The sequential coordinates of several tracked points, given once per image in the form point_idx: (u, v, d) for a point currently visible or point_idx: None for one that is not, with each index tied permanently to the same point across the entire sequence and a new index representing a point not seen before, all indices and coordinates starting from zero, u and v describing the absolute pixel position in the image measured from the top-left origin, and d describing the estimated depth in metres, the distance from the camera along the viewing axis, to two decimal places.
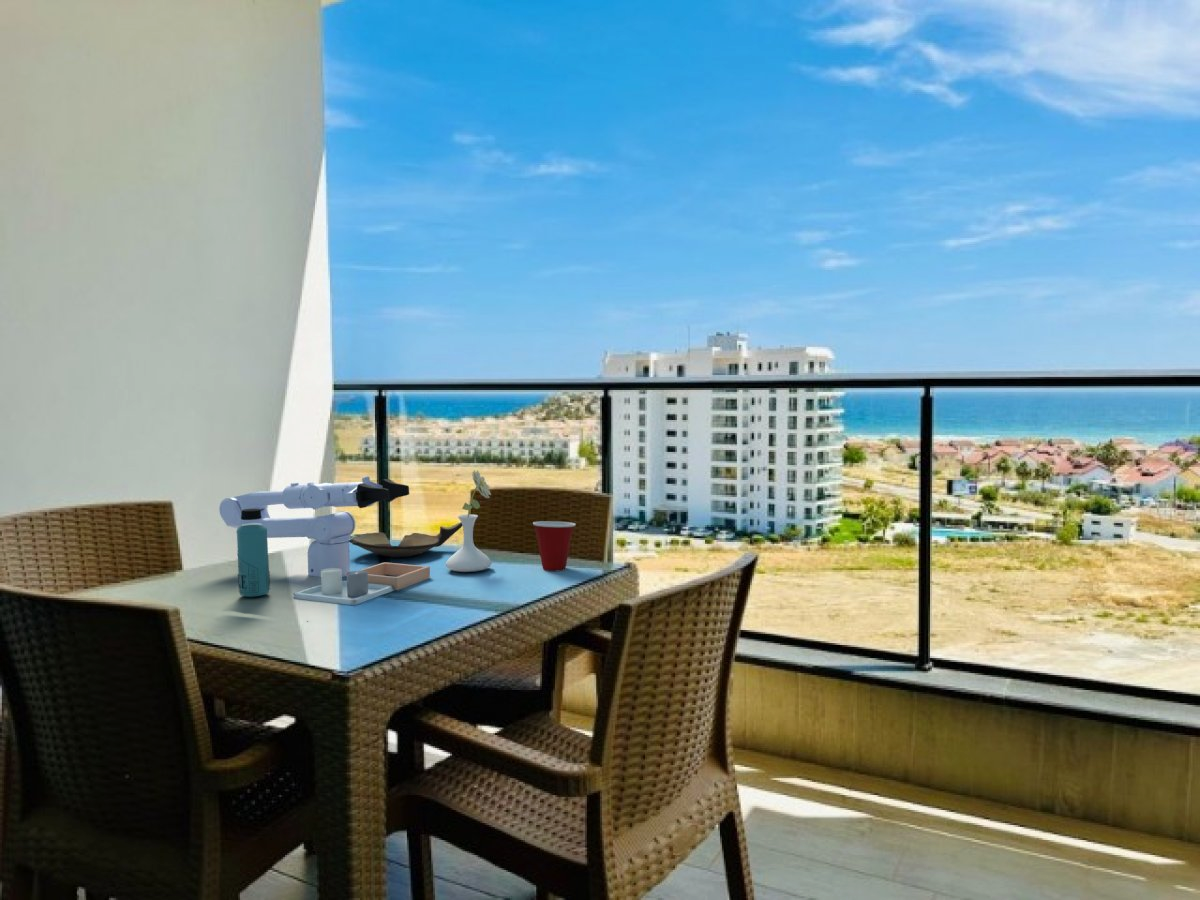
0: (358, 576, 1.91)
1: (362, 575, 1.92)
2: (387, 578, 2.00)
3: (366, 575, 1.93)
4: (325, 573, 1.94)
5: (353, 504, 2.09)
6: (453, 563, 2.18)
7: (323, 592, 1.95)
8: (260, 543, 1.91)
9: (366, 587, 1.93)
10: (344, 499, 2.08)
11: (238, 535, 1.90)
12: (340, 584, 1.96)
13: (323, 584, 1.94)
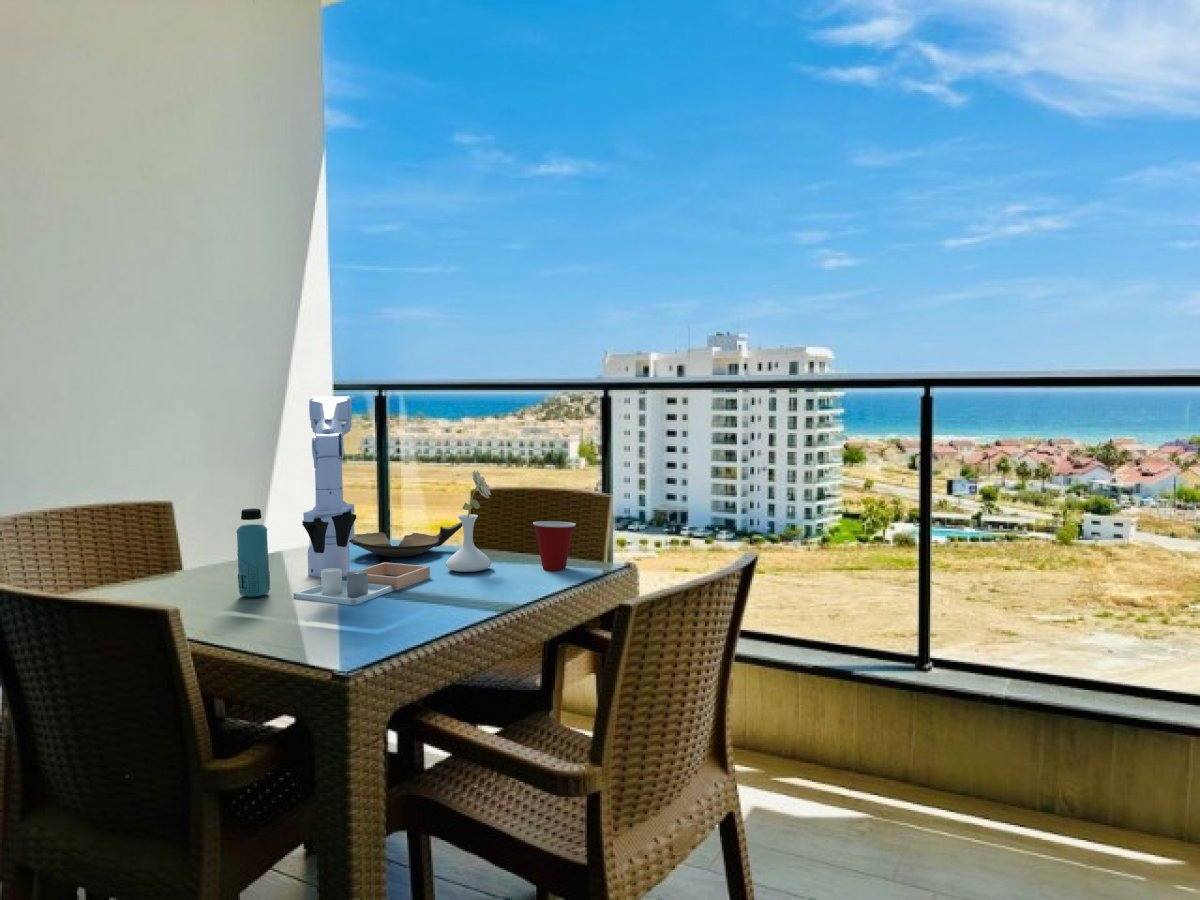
0: (358, 576, 1.91)
1: (362, 575, 1.92)
2: (387, 578, 2.00)
3: (366, 575, 1.93)
4: (325, 573, 1.94)
5: None
6: (453, 563, 2.18)
7: (323, 592, 1.95)
8: (260, 543, 1.91)
9: (366, 587, 1.93)
10: (317, 490, 1.92)
11: (238, 535, 1.90)
12: (340, 584, 1.96)
13: (323, 584, 1.94)
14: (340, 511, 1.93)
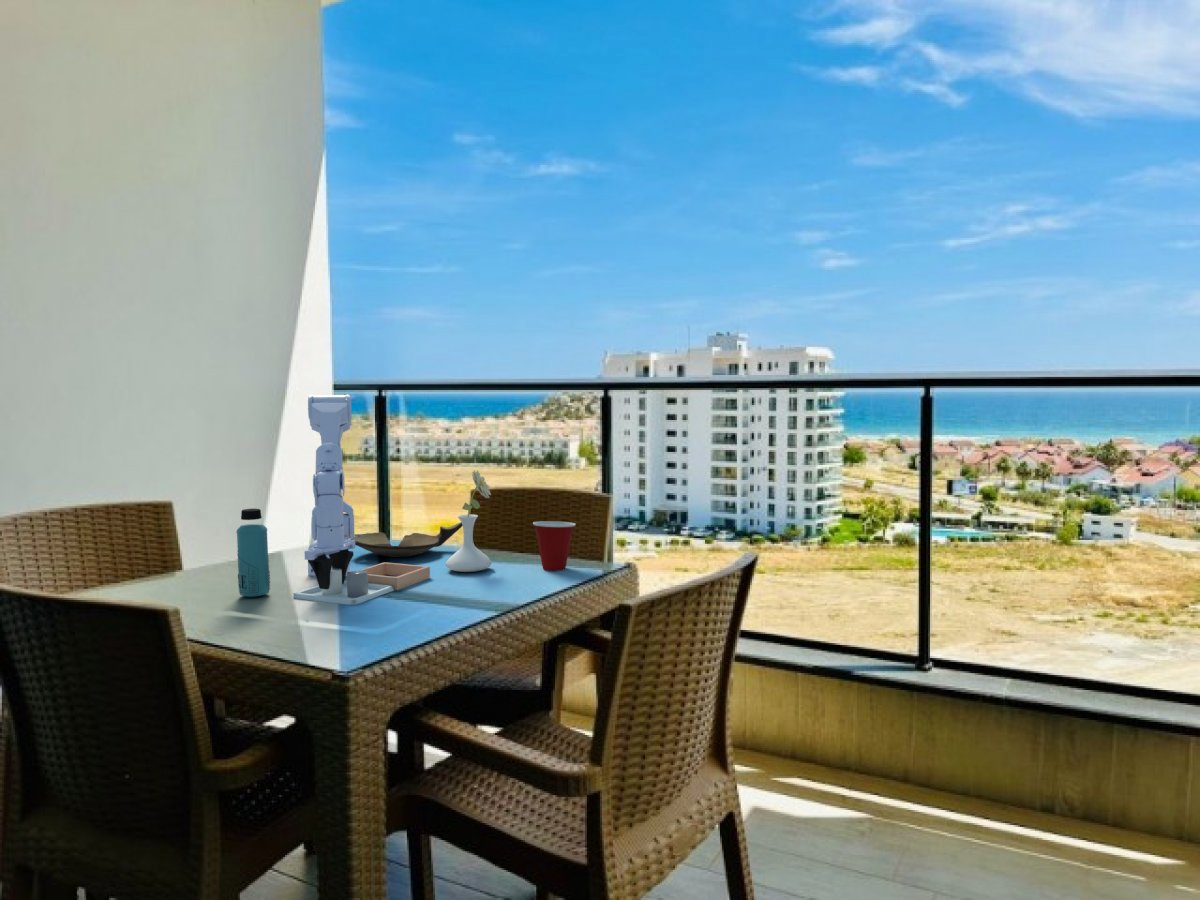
0: (358, 576, 1.91)
1: (362, 575, 1.92)
2: (387, 578, 2.00)
3: (366, 575, 1.93)
4: None
5: None
6: (453, 563, 2.18)
7: (323, 592, 1.95)
8: (260, 543, 1.91)
9: (366, 587, 1.93)
10: (318, 527, 1.93)
11: (238, 535, 1.90)
12: (340, 584, 1.96)
13: None
14: (341, 548, 1.93)
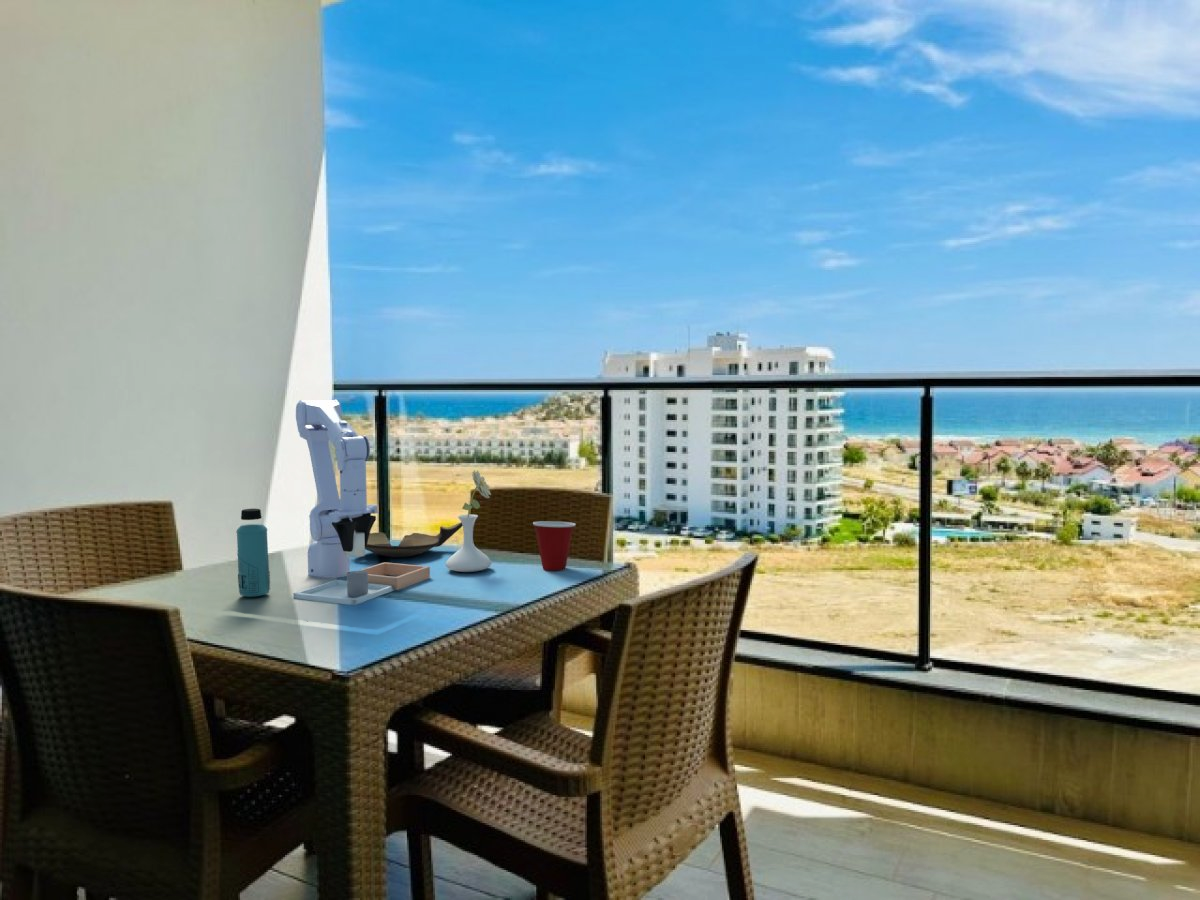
0: (358, 576, 1.91)
1: (362, 575, 1.92)
2: (387, 578, 2.00)
3: (366, 575, 1.93)
4: None
5: (340, 498, 2.00)
6: (453, 563, 2.18)
7: (346, 554, 2.00)
8: (260, 543, 1.91)
9: (366, 587, 1.93)
10: (342, 491, 1.98)
11: (238, 535, 1.90)
12: (363, 547, 2.01)
13: None
14: (364, 512, 1.99)
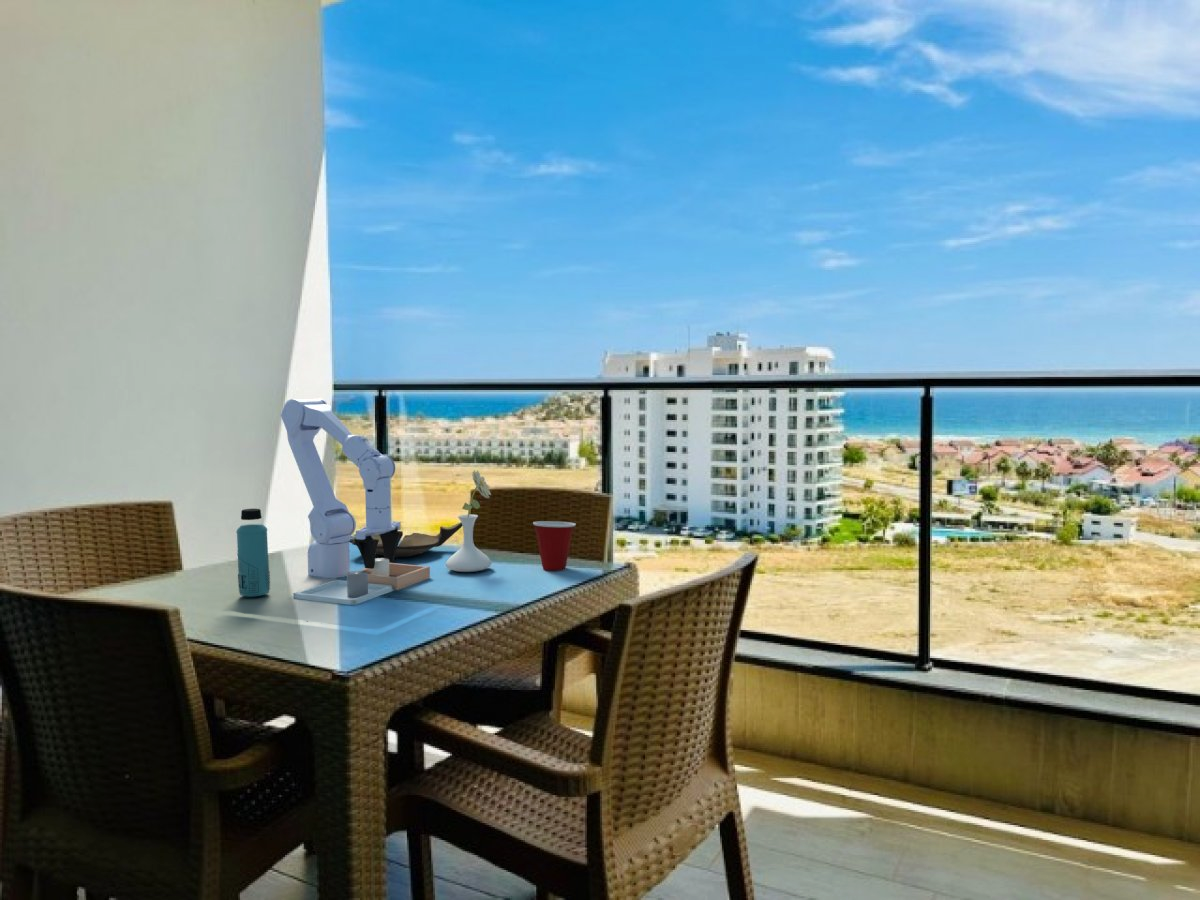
0: (358, 576, 1.91)
1: (362, 575, 1.92)
2: (387, 578, 2.00)
3: (366, 575, 1.93)
4: None
5: None
6: (453, 563, 2.18)
7: None
8: (260, 543, 1.91)
9: (366, 587, 1.93)
10: (367, 509, 2.05)
11: (238, 535, 1.90)
12: (388, 573, 2.08)
13: (372, 573, 2.06)
14: (389, 529, 2.05)
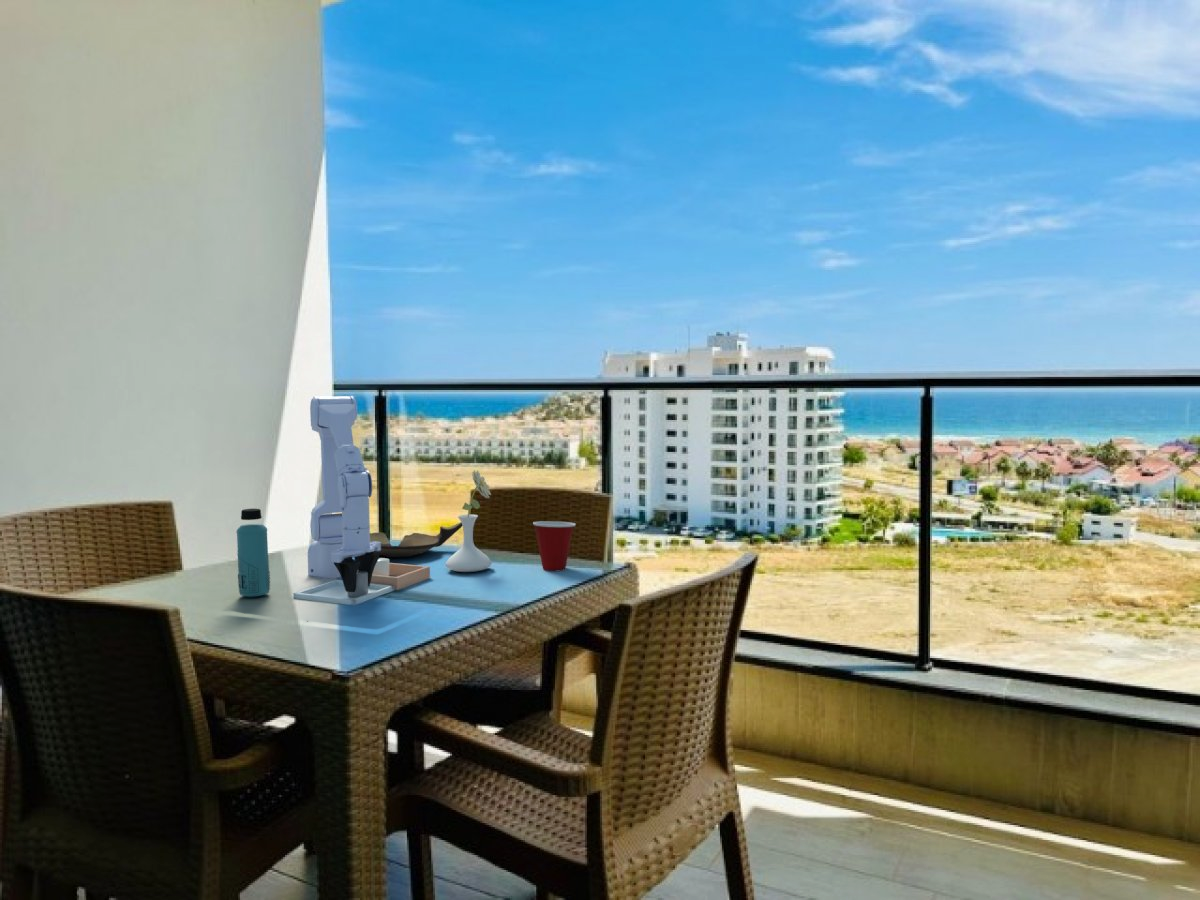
0: (358, 576, 1.91)
1: (362, 575, 1.92)
2: (387, 578, 2.00)
3: (366, 575, 1.93)
4: None
5: None
6: (453, 563, 2.18)
7: None
8: (260, 543, 1.91)
9: (366, 587, 1.93)
10: (344, 529, 1.90)
11: (238, 535, 1.90)
12: (388, 573, 2.08)
13: (373, 573, 2.06)
14: (367, 551, 1.91)
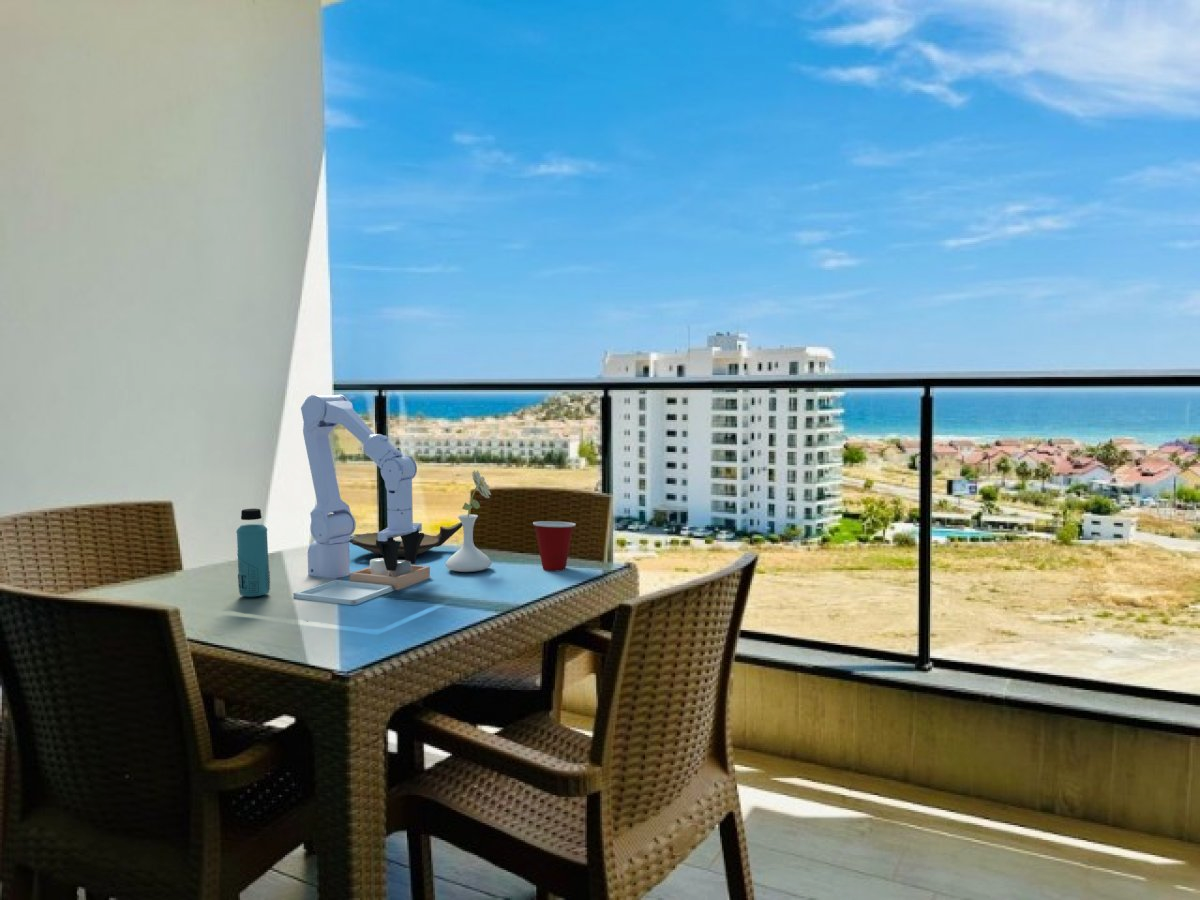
0: (402, 565, 2.04)
1: (406, 564, 2.04)
2: (387, 578, 2.00)
3: (409, 564, 2.05)
4: (374, 562, 2.06)
5: (387, 517, 2.04)
6: (453, 563, 2.18)
7: None
8: (260, 543, 1.91)
9: None
10: (389, 510, 2.03)
11: (238, 535, 1.90)
12: (388, 573, 2.08)
13: (373, 573, 2.06)
14: (411, 531, 2.03)
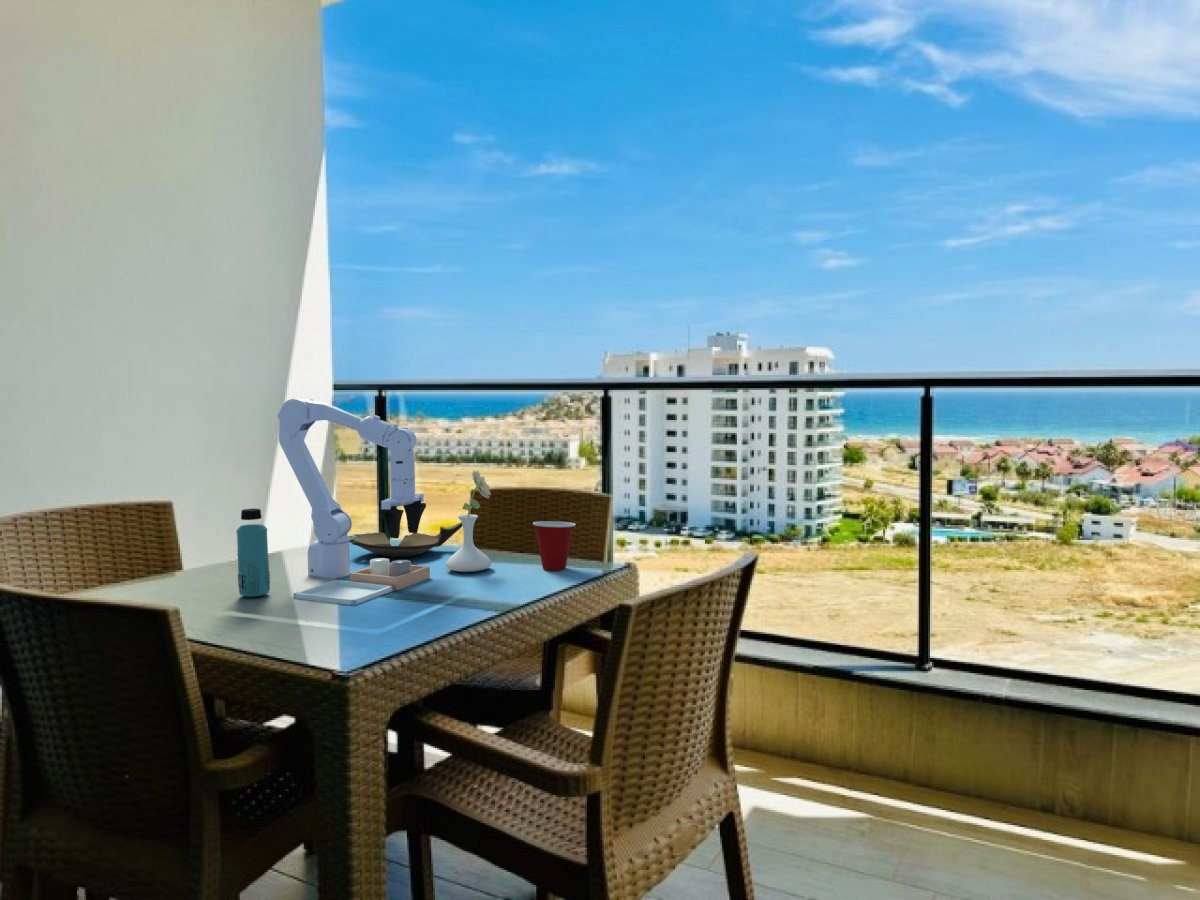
0: (402, 565, 2.04)
1: (406, 564, 2.04)
2: (387, 578, 2.00)
3: (409, 564, 2.05)
4: (374, 562, 2.06)
5: None
6: (453, 563, 2.18)
7: None
8: (260, 543, 1.91)
9: None
10: (392, 480, 2.10)
11: (238, 535, 1.90)
12: (388, 573, 2.08)
13: (373, 573, 2.06)
14: (413, 500, 2.10)
